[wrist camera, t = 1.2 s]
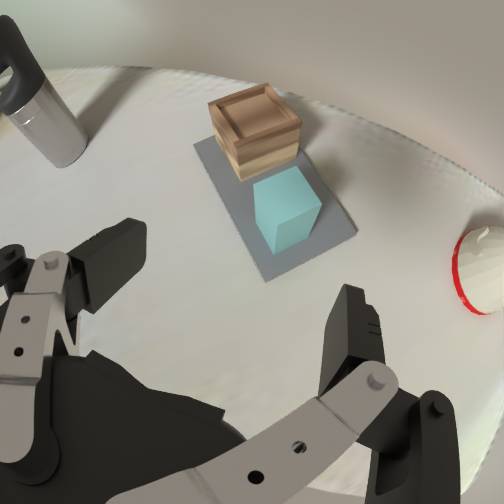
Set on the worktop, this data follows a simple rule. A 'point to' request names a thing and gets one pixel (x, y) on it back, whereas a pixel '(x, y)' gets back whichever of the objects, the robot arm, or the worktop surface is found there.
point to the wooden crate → (255, 130)
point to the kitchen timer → (480, 269)
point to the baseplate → (243, 211)
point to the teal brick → (285, 209)
